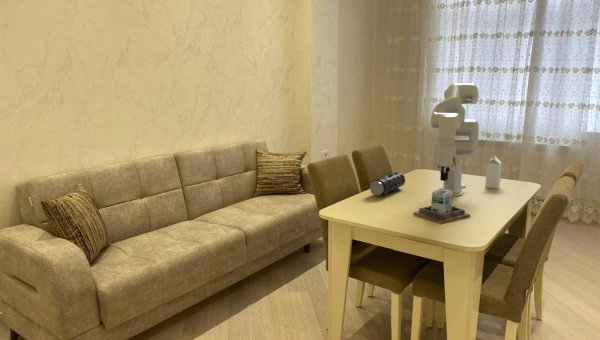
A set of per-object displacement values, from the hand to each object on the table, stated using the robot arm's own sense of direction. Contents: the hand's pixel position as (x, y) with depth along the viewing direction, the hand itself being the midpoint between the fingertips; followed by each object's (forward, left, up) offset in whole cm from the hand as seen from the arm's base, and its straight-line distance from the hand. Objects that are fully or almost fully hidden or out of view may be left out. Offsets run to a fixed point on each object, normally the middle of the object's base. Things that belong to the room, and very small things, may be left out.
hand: (443, 180), depth 207 cm
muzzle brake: (-7, -46, -18) cm, 50 cm away
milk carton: (-71, -23, -18) cm, 76 cm away
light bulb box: (0, 0, -16) cm, 16 cm away
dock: (0, 0, -18) cm, 18 cm away
